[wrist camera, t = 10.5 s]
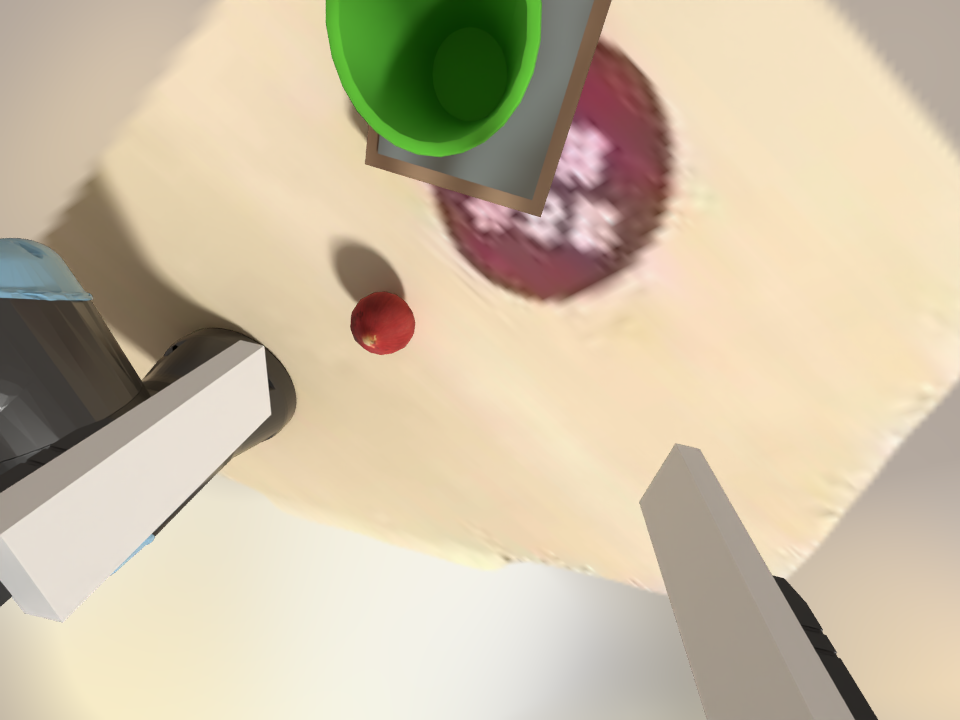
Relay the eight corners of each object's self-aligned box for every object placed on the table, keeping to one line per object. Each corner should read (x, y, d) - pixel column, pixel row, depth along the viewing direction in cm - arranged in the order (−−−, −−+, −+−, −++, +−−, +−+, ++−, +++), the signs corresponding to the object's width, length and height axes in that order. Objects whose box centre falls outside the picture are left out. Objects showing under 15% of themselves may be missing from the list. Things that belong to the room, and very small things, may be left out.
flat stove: (383, 162, 32) (363, 164, 28) (409, -66, 25) (387, -105, 21) (540, 210, 32) (540, 217, 28) (609, -4, 25) (622, -32, 21)
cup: (380, 34, 24) (279, -43, 15) (511, -50, 22) (491, -211, 12) (439, 177, 28) (388, 188, 18) (558, 120, 25) (570, 99, 16)
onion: (378, 336, 40) (345, 375, 33) (361, 285, 38) (321, 315, 31) (429, 331, 39) (406, 370, 32) (415, 278, 36) (387, 307, 30)
